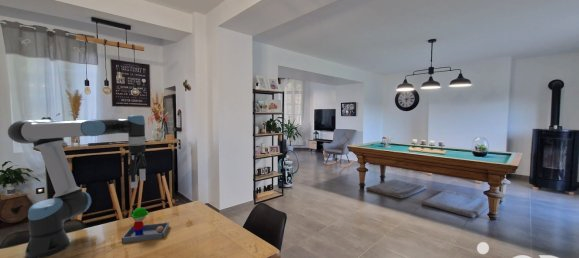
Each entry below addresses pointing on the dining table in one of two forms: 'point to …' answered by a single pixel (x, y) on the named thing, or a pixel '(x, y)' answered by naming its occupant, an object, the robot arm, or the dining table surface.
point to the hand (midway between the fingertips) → (138, 184)
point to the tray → (146, 233)
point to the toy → (139, 220)
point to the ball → (160, 229)
